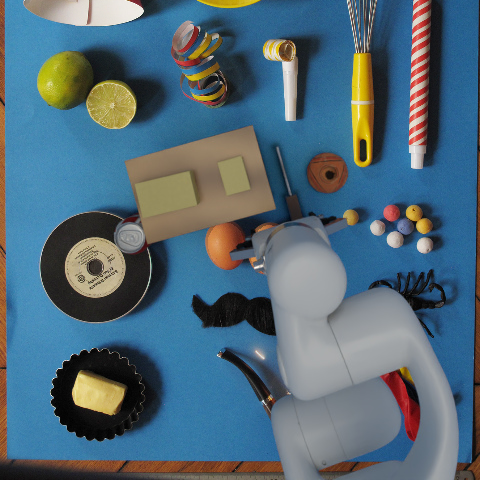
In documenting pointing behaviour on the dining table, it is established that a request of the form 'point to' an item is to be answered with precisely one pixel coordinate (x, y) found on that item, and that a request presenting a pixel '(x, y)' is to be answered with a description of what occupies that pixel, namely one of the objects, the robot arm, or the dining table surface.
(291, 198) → the knife
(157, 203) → the butter block
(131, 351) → the dining table surface
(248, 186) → the butter slice
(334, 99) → the dining table surface
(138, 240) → the soda can
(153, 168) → the cutting board
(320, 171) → the pot
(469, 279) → the dining table surface
